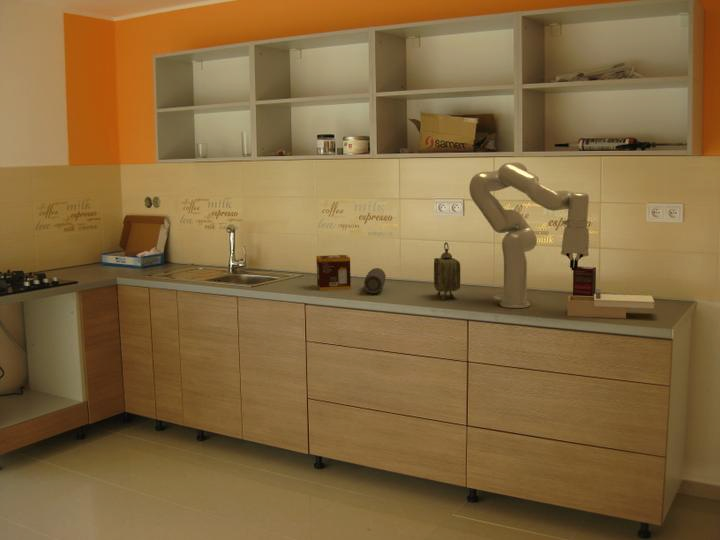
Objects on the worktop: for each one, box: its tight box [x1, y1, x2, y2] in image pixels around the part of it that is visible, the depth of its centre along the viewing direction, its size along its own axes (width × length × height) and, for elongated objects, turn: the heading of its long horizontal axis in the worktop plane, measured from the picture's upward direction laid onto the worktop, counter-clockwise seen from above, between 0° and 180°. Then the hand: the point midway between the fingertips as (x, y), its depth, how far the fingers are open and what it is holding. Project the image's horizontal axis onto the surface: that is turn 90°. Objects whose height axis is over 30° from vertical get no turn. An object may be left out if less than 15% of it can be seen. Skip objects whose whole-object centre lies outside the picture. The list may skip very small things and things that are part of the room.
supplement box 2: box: [572, 265, 597, 296], centre depth 336 cm, size 9×5×16 cm, turn 56°
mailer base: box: [566, 295, 627, 319], centre depth 316 cm, size 22×11×6 cm, turn 74°
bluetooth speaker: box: [363, 267, 387, 294], centre depth 375 cm, size 23×9×10 cm, turn 174°
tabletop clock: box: [433, 241, 461, 301], centre depth 354 cm, size 14×9×25 cm, turn 7°
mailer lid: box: [594, 288, 655, 309], centre depth 313 cm, size 22×13×5 cm, turn 74°
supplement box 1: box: [315, 254, 352, 292], centre depth 384 cm, size 10×15×16 cm
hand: (573, 269), depth 317 cm, fingers closed
